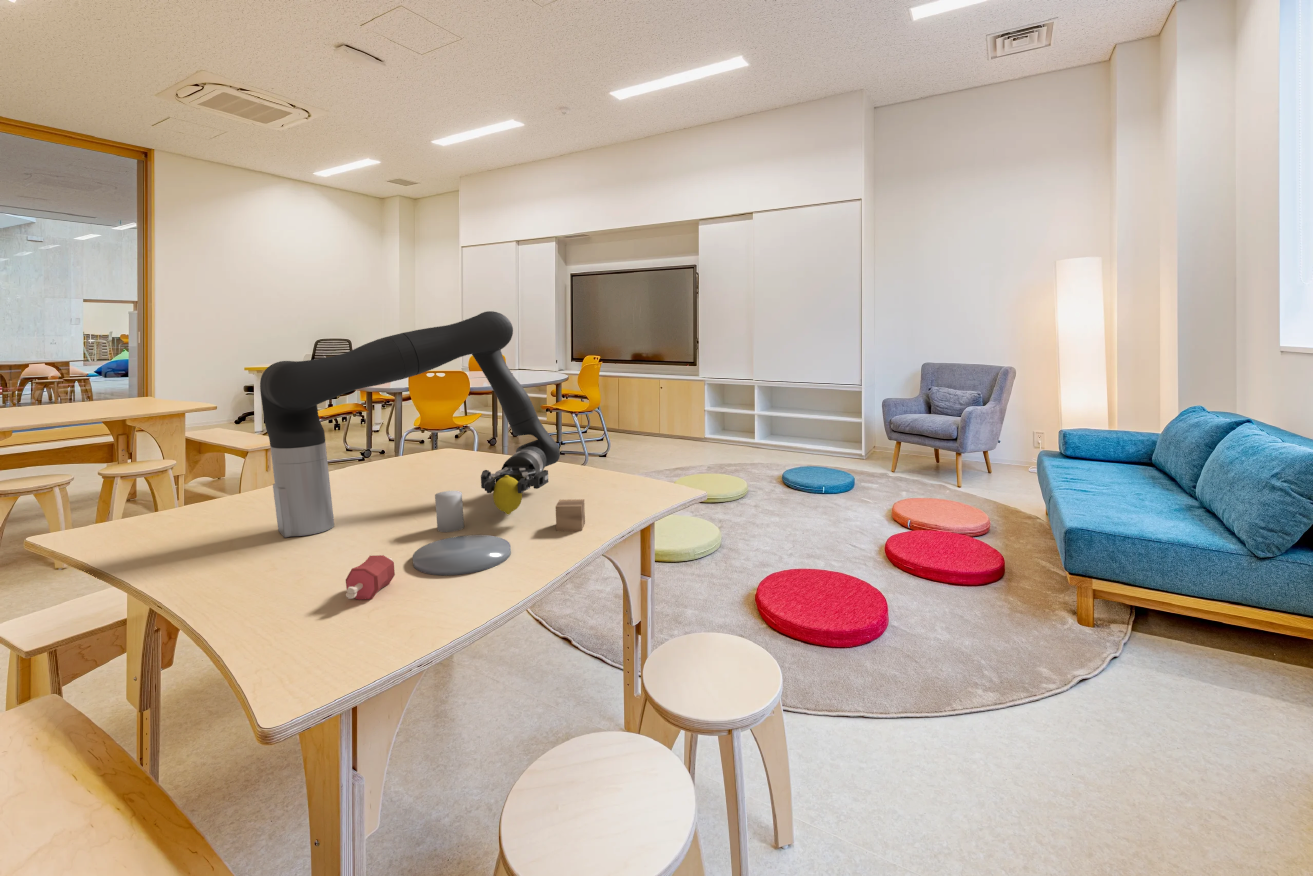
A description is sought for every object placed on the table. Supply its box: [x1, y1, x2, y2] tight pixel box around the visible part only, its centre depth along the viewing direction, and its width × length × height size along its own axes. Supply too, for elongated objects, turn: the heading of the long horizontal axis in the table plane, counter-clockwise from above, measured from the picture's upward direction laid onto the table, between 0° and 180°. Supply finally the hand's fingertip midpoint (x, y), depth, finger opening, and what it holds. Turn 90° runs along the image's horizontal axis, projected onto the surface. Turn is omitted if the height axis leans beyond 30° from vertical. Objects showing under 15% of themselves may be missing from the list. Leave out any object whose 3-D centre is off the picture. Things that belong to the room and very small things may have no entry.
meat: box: [345, 554, 396, 601], centre depth 88 cm, size 12×5×5 cm, turn 178°
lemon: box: [492, 475, 523, 515], centre depth 116 cm, size 6×6×8 cm
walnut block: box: [555, 498, 586, 532], centre depth 117 cm, size 5×5×5 cm
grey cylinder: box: [434, 490, 465, 533], centre depth 117 cm, size 5×5×7 cm
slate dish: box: [412, 534, 512, 576], centre depth 102 cm, size 16×16×1 cm
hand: (504, 488), depth 113 cm, fingers closed on lemon, 5 cm apart
